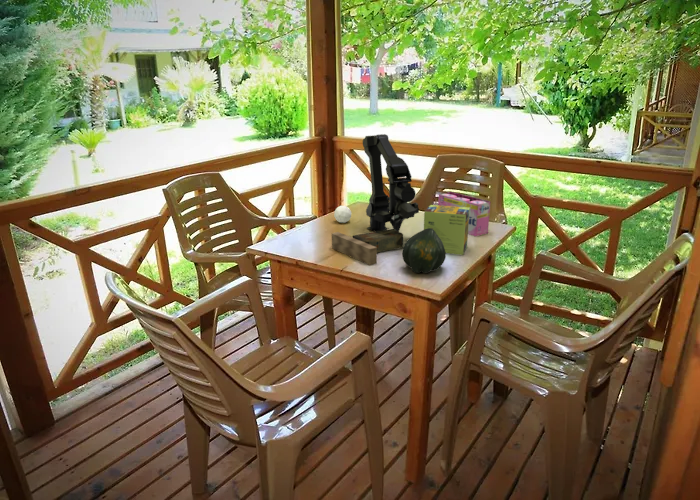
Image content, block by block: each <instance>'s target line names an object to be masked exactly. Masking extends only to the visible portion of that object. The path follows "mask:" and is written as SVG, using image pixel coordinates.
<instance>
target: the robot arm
mask: <svg viewBox="0 0 700 500" xmlns="http://www.w3.org/2000/svg"><path fill="white" fill-rule="evenodd" d="M362 146H363V150H364V154H366V156H367V157H368V161H369V169H370V170H369V171H370V180H371V191H372V192H371V195H370V197H369V200H368V205H367V207H366V209H365V213H366V216H367V217H368V218H369V227H367V230H369V231H372V232H377V231H383V230H389V228H388V227H386V223H390V224H391V226H392V229H395V230H396V231H398V232H400V229H401V227H402V224H403V222H404V221H405V220H409V219H410V218H414V217H415V214H418V213H419V212H420V208H419V203H417V202H412V201H413V200H414V199H415V197H416V190H415V188H414V187H413V186H412V184H411V182H413V181H412V174H411V172H410V169H409V165H408V164H407V162H406V161H405V160H404V158H401V157H400V156H398V155H397V153H396V151H395V149H394V147H393V146H392V144H391V142H390V140H389V135H388V134H385V133H384V134H383V133H382V134H376V135H375V134H374V135H365V136H364V138H363V139H362ZM382 157H383V159H384V161H385V164H386V167H385V172H386V176H387V178H388V179H387V181H388V182H389V183H388V184H389V189H388V191H389V195H388V194H386V193H385V191H384V181H383V169H382V159H381V158H382ZM411 202H412V203H411Z"/></svg>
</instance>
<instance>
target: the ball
mask: <svg viewBox="0 0 700 500" xmlns="http://www.w3.org/2000/svg"><path fill="white" fill-rule="evenodd" d="M333 215H334V216H333V217H334V218H335V220H336V221H337V222H339V223H341V224H342V223H343V224H346V223H347V222H348V221H350V219H352V211H351V209H350V208H349V207H348V206H347V205H339V206H338V207H336V208H335V210H334V214H333Z"/></svg>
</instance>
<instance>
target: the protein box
mask: <svg viewBox="0 0 700 500" xmlns="http://www.w3.org/2000/svg"><path fill="white" fill-rule="evenodd" d="M469 210H470V208H469V207H454V206H440V205H437V204H430V205H428V206H427V208H426V209H425V210H424V214H423V215H424V216H423V230H425V229H428V228H433V230H434V231H435V232H436V234H437V235H438V237H439V238H440V239H441V241H442V242H443V245H444V248H445V253H446V254H450V255H457V256H458V255H460V256H464V255H465V252H466V249H467V248H468V240H469V239H468V238H469V237H468V236H469V234H468V225H469Z"/></svg>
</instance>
